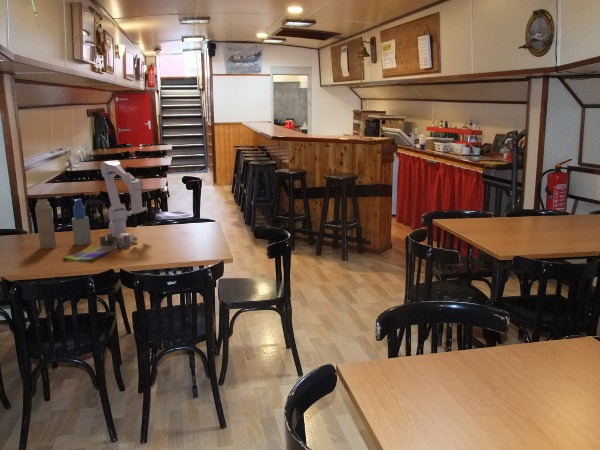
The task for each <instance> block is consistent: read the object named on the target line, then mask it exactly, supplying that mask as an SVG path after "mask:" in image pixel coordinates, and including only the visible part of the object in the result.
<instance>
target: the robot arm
mask: <svg viewBox="0 0 600 450" xmlns="http://www.w3.org/2000/svg"><path fill="white" fill-rule="evenodd" d="M99 169H100V171H101V175H102V176H101V177H103V179H104V181H105V182H104V183H105V185H106V189H107V190H106V191H107V194H108V198H109V201H110V204H111V206H110V207H109V208H108V210H107V212H108V219H109V221H110V222H109V224H108V234H109V233H112V234H113V238H118V236H119V234H120V233H127V221H129V223H130V226H131V228H137V217H138V216H139V220H140V224H141V225H146V220H147V217H148V215H149V211H148V207H145V206H144V207H143V200H142V190H143V188H144V186H143V182H142V181H141V179H138V178H137V179H136V178H135V177H134V176H133V175H132V174H131V173H130V172H126V171H125V169H123V167H122V164H121V162H120V161H119V160H118V159H115V160H108V161H107V160H106V161H101V163H100V167H99ZM115 176H119V177H121V181H122V182H123V183H124V184H125V185H126V186H127V190H128V193H129V195H130V203H131V210H129V211H128V210H127V208H126V206H125V205H123V204H122V203H121V200H120V199H121V198H120V196H119V192H118V189H117V188H118V187H117V184H116V181H115ZM137 214H138V216H137ZM127 234H128V233H127Z"/></svg>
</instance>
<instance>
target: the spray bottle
mask: <svg viewBox="0 0 600 450" xmlns="http://www.w3.org/2000/svg"><path fill="white" fill-rule="evenodd" d="M73 201H74V204H73V207H72V210H73V211H72V212H73V217H72V218H71V225H72V226H71V228H72V235H73V242H74V245H75V244H76V245H75V246H85V245H89V244H91V243H92V239H91V238H92V237H91V236H92V235H91V227H90V226H91V225H90V220H89V219H90V218H89V216H87V215H86V207H85V205H84V204H83V202H82V201H83V200H82V198H76V199H74V200H73Z"/></svg>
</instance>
